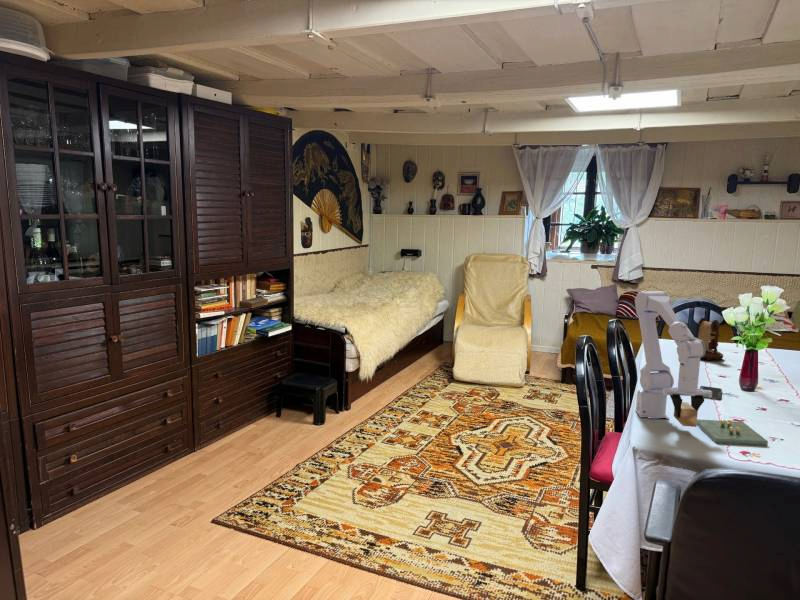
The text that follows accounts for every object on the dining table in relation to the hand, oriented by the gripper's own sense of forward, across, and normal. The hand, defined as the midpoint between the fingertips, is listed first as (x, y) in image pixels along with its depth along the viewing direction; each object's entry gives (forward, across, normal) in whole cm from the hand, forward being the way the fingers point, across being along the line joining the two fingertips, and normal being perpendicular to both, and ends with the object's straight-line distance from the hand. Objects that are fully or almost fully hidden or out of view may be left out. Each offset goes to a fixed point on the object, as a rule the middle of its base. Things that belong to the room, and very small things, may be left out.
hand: (685, 417), depth 187 cm
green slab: (+5, +14, 0) cm, 15 cm away
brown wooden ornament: (+6, +46, +107) cm, 117 cm away
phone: (+6, +25, +45) cm, 52 cm away
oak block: (+2, 0, 0) cm, 2 cm away
